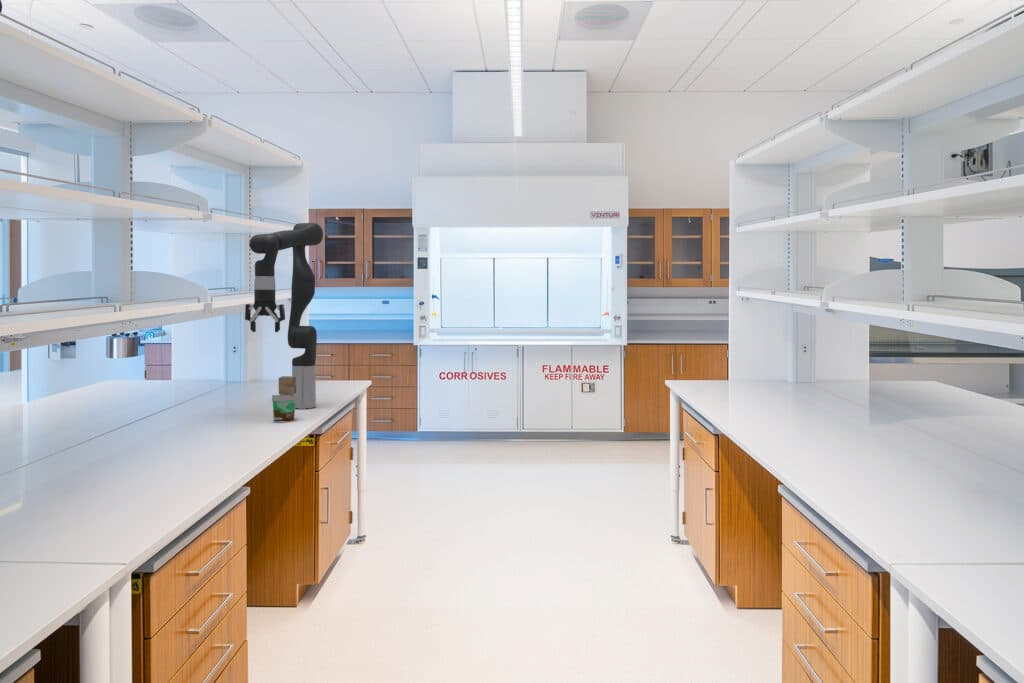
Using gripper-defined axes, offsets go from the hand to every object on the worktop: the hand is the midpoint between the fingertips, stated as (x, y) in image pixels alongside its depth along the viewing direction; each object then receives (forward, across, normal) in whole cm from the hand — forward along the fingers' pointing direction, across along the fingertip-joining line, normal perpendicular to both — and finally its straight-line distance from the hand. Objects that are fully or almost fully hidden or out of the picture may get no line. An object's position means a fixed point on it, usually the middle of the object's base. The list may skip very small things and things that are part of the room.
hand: (265, 332), depth 294 cm
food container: (+32, -10, +6) cm, 34 cm away
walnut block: (+22, -10, +6) cm, 25 cm away
